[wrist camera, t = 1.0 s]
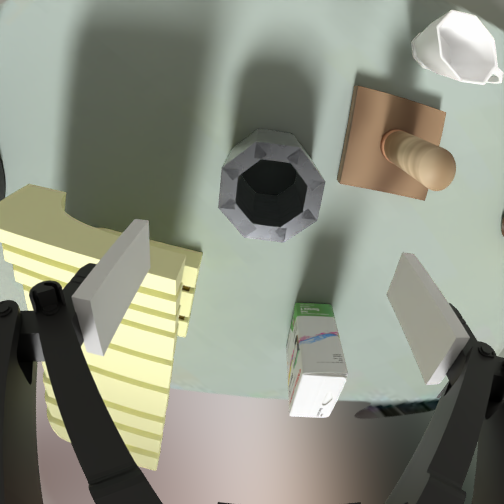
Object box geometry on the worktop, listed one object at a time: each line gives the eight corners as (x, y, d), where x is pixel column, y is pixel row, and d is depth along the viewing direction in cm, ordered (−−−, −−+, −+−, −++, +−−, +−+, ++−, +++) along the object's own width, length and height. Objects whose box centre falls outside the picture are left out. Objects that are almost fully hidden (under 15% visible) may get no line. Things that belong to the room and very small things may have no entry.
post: (336, 179, 32) (364, 219, 23) (354, 85, 27) (393, 87, 18) (419, 196, 33) (465, 238, 23) (439, 110, 28) (497, 127, 18)
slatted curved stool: (83, 155, 32) (-28, 219, 16) (218, 183, 33) (175, 280, 18) (86, 342, 46) (42, 430, 30) (180, 370, 47) (156, 471, 32)
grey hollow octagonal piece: (226, 201, 34) (216, 233, 27) (234, 125, 30) (224, 137, 23) (302, 210, 34) (311, 245, 27) (315, 137, 30) (330, 152, 23)
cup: (406, 9, 23) (443, -6, 16) (479, 53, 24) (524, 53, 17) (391, 65, 26) (427, 62, 19) (466, 105, 27) (510, 115, 20)
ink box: (294, 301, 40) (301, 374, 30) (332, 303, 40) (350, 374, 30) (284, 348, 44) (287, 419, 34) (319, 350, 44) (329, 419, 34)
